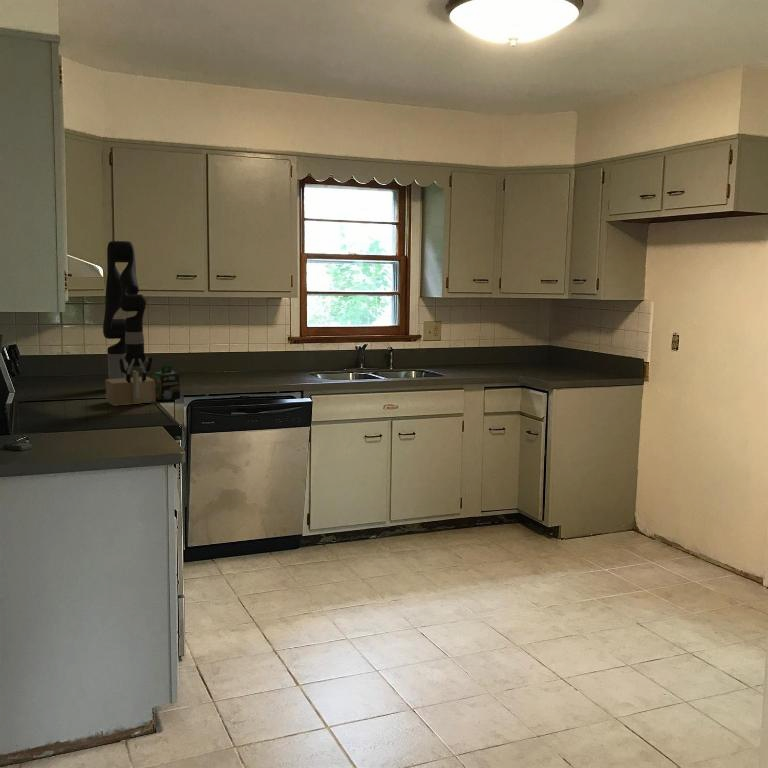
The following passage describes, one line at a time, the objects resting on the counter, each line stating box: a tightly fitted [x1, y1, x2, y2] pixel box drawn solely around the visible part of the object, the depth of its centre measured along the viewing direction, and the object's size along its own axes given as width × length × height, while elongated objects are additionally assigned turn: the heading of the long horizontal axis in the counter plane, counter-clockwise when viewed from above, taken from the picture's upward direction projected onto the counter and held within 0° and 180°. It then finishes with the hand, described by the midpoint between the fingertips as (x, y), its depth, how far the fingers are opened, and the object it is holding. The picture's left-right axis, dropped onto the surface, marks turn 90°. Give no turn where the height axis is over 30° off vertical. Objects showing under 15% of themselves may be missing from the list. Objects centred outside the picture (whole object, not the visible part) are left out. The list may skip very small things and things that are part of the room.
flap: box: [132, 370, 152, 404], centre depth 351 cm, size 5×8×15 cm, turn 122°
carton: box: [105, 375, 157, 404], centre depth 358 cm, size 12×18×10 cm
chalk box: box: [152, 364, 181, 401], centre depth 370 cm, size 9×9×15 cm
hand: (136, 382), depth 349 cm, fingers open, 5 cm apart
